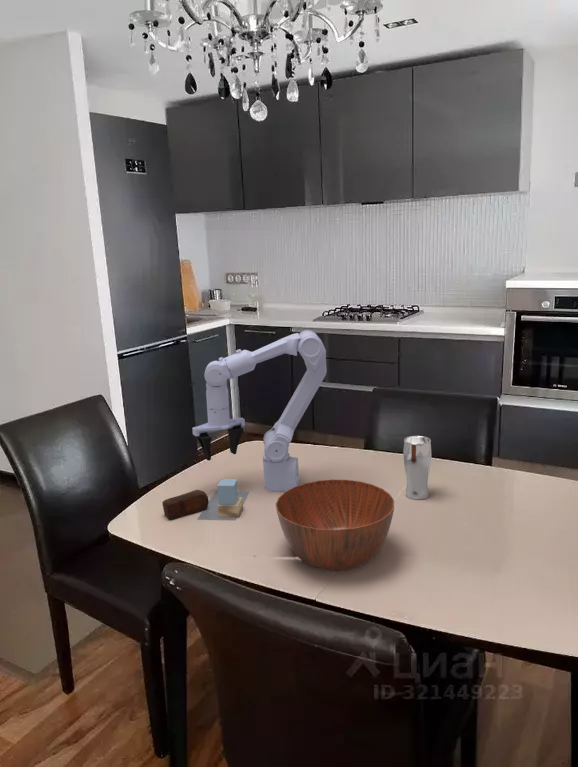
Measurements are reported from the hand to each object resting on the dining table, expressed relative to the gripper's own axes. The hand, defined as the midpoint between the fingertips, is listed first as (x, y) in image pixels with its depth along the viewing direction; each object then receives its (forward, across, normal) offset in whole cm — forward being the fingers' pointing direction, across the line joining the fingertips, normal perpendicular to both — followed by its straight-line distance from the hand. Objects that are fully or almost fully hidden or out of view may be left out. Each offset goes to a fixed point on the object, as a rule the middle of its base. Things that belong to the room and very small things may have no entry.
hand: (220, 456), depth 160 cm
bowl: (+10, +4, -44) cm, 45 cm away
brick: (+10, -13, -7) cm, 18 cm away
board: (+10, -4, -9) cm, 14 cm away
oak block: (+10, -5, -14) cm, 18 cm away
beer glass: (+10, +38, -34) cm, 53 cm away
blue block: (+7, -5, -14) cm, 16 cm away
